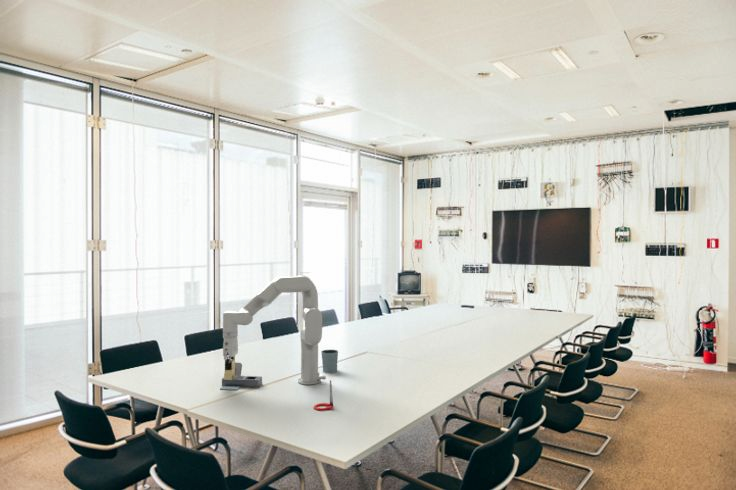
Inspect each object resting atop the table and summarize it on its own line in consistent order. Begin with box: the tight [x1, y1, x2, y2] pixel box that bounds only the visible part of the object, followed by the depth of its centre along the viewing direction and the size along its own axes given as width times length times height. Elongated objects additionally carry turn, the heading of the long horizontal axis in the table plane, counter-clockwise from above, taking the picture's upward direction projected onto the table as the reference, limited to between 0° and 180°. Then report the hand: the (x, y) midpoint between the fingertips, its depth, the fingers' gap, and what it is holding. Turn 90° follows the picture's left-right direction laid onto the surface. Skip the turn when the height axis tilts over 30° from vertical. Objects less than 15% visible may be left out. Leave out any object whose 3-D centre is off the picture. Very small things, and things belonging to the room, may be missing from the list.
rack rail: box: [221, 375, 263, 389], centre depth 268 cm, size 20×7×4 cm, turn 84°
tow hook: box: [313, 380, 334, 411], centre depth 232 cm, size 8×13×9 cm
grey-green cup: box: [321, 349, 339, 374], centre depth 298 cm, size 10×10×12 cm
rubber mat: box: [220, 386, 241, 391], centre depth 261 cm, size 9×5×1 cm, turn 84°
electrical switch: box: [223, 361, 243, 378], centre depth 282 cm, size 9×5×9 cm, turn 78°
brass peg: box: [224, 358, 236, 380], centre depth 261 cm, size 4×4×10 cm
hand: (229, 368), depth 261 cm, fingers closed on brass peg, 4 cm apart
